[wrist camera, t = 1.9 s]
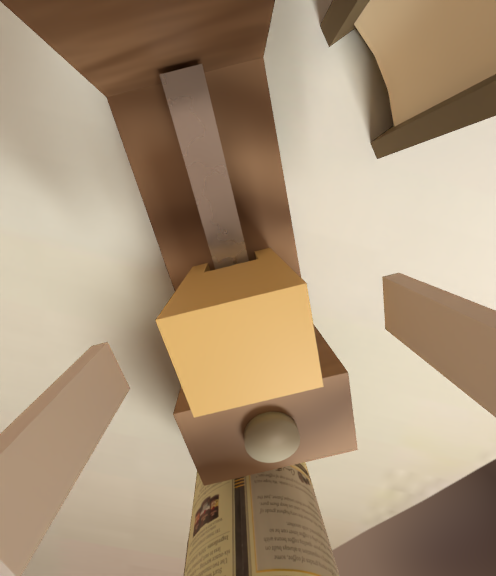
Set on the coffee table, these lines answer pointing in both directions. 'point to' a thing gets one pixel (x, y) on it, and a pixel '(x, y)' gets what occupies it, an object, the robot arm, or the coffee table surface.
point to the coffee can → (259, 527)
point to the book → (425, 62)
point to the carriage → (241, 334)
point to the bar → (205, 163)
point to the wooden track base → (180, 198)
